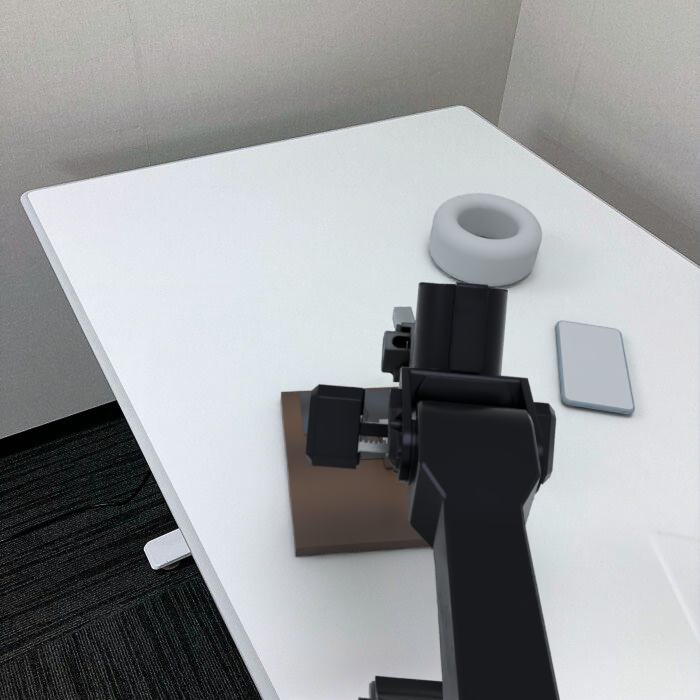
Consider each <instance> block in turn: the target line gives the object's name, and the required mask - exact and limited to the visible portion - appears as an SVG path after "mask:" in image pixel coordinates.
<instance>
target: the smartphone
mask: <svg viewBox="0 0 700 700" xmlns="http://www.w3.org/2000/svg"><path fill="white" fill-rule="evenodd" d="M555 335H556V346H557V359H558V370H559V372H558V373H559V382H560V383H559V384H560V395H561V401H562V402H563V403H564V404H565V405H567V406H573V407H579V408H584V409H593V410H597V411H598V410H599V411H604V412H610V413H617V414H624V415H632V414H633V413H634V412H635V410H636V406H635V400H634V395H633V389H632V385H631V378H630V373H629V367H628V361H627V357H626V356H627V355H626V351H625V345H624V339H623V333H622V332H621V330H619V329H617V328H615V327H614V328H613V327H608V326H601V325H594V324H588V323H582V322H575V321H568V320H558V321H557V322H556V323H555Z"/></svg>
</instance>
